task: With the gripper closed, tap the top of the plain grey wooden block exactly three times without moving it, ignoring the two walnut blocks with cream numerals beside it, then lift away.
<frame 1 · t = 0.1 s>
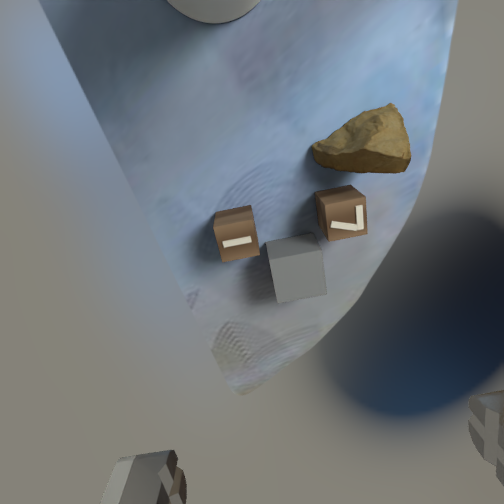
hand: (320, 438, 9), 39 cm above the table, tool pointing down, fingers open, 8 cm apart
walnut block one: (237, 224, 48), on the table
walnut block seven: (334, 205, 47), on the table
rock: (350, 135, 43), on the table
grey block: (292, 257, 51), on the table
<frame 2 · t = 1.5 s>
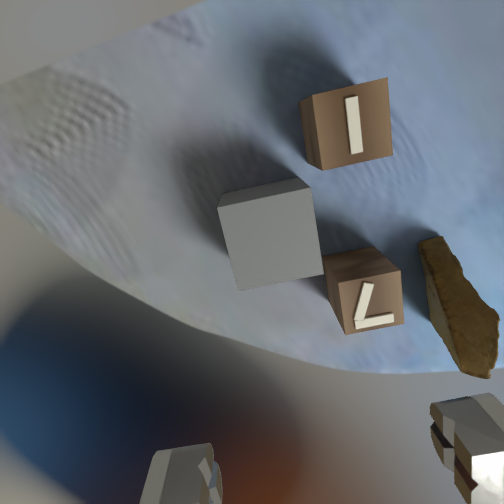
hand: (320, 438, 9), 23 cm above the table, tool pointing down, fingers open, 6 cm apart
walnut block one: (332, 127, 28), on the table
walnut block seven: (350, 274, 33), on the table
rock: (441, 282, 34), on the table
grey block: (267, 222, 31), on the table
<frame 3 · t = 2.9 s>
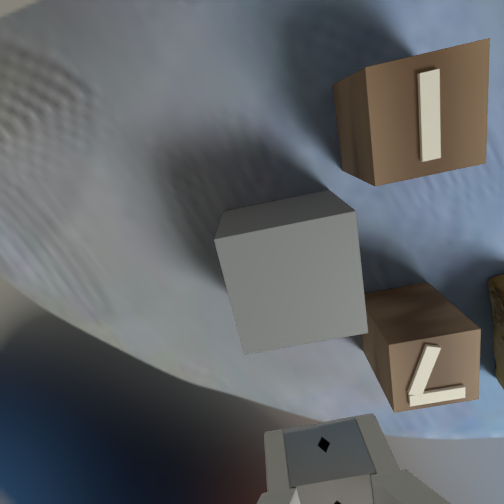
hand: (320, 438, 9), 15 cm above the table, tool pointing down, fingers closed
walnut block one: (378, 120, 20), on the table
walnut block seven: (393, 317, 25), on the table
grey block: (284, 249, 23), on the table
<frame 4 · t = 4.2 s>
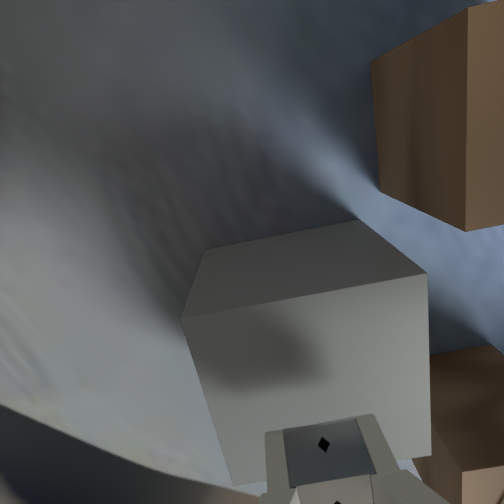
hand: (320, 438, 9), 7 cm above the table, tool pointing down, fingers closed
walnut block one: (437, 117, 13), on the table
walnut block seven: (441, 390, 18), on the table
grey block: (293, 301, 16), on the table
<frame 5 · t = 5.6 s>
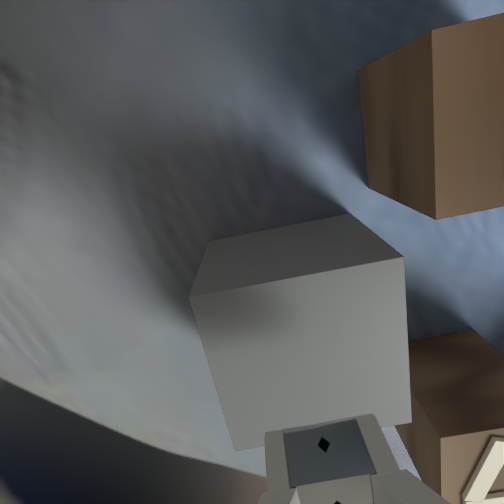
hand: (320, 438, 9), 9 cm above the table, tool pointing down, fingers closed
walnut block one: (419, 119, 15), on the table
walnut block seven: (428, 372, 19), on the table
grey block: (289, 289, 18), on the table
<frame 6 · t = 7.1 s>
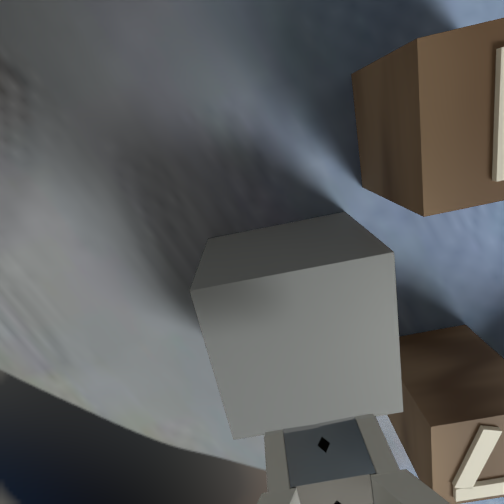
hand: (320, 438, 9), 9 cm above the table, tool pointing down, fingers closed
walnut block one: (411, 121, 15), on the table
walnut block seven: (422, 367, 20), on the table
grey block: (286, 285, 18), on the table
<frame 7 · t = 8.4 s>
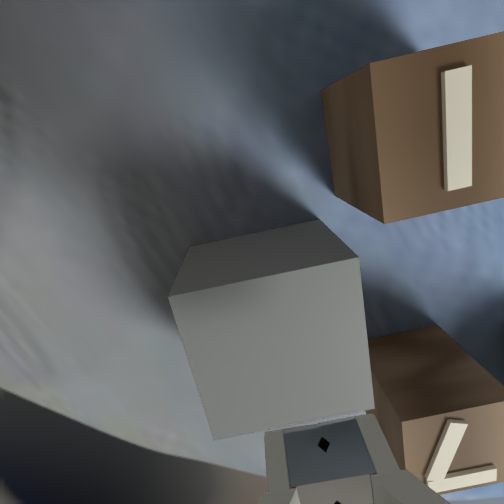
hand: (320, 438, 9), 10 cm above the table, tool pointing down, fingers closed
walnut block one: (378, 134, 16), on the table
walnut block seven: (398, 366, 21), on the table
grey block: (266, 291, 19), on the table
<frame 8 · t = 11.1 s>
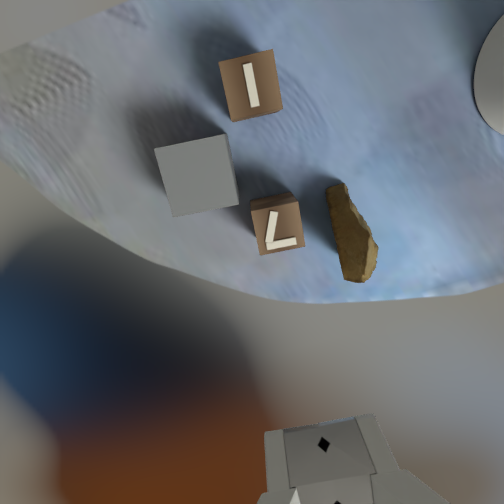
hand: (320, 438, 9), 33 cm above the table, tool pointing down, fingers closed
walnut block one: (250, 93, 36), on the table
walnut block seven: (274, 215, 41), on the table
rock: (348, 223, 42), on the table
grey block: (204, 170, 39), on the table
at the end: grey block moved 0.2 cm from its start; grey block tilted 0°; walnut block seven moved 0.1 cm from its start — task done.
